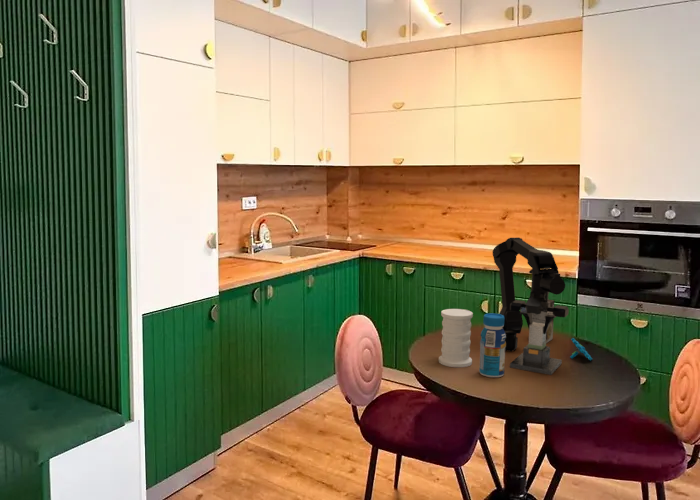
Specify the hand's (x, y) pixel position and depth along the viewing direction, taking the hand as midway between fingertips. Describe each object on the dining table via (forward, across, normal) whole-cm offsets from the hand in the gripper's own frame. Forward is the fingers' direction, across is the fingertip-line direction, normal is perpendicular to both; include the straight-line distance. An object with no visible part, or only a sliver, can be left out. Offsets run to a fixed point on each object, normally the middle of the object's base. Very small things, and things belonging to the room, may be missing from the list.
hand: (537, 332), depth 215 cm
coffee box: (+12, -7, +33) cm, 36 cm away
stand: (+12, 0, 0) cm, 12 cm away
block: (+6, 0, 0) cm, 6 cm away
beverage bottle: (+12, -10, -17) cm, 23 cm away
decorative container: (+12, -25, -12) cm, 30 cm away
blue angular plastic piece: (+12, +12, +17) cm, 24 cm away
